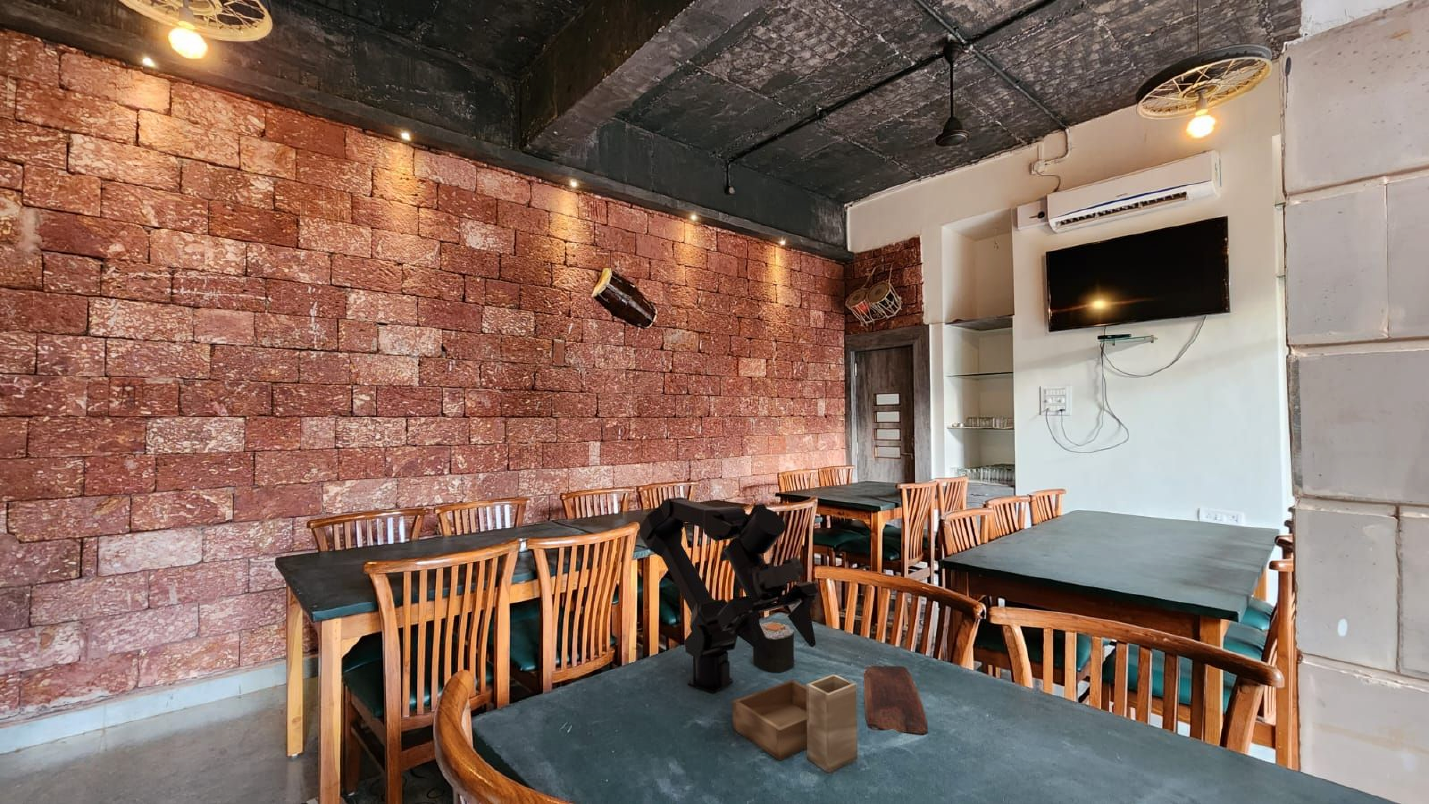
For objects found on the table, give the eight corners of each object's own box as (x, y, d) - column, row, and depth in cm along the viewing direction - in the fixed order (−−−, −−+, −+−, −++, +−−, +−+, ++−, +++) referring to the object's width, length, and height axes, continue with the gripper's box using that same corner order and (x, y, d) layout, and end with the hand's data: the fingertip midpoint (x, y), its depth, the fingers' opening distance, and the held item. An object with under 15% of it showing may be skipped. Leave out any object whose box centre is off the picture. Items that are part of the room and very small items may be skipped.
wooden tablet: (862, 659, 122) (912, 657, 120) (863, 670, 122) (913, 668, 120) (864, 724, 97) (928, 723, 94) (866, 738, 96) (930, 737, 94)
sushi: (771, 653, 128) (771, 616, 129) (801, 664, 122) (801, 626, 122) (745, 663, 123) (745, 625, 123) (775, 676, 117) (775, 635, 117)
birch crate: (807, 758, 88) (806, 684, 89) (834, 745, 92) (833, 674, 92) (829, 773, 85) (828, 695, 85) (857, 758, 88) (856, 684, 88)
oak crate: (733, 728, 97) (732, 701, 97) (792, 705, 105) (792, 679, 105) (779, 761, 88) (779, 730, 88) (841, 732, 95) (841, 704, 96)
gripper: (728, 550, 94) (774, 641, 85) (811, 536, 105) (859, 616, 96) (700, 586, 101) (739, 676, 92) (781, 570, 111) (823, 648, 102)
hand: (793, 652), depth 95 cm, fingers open, 9 cm apart
